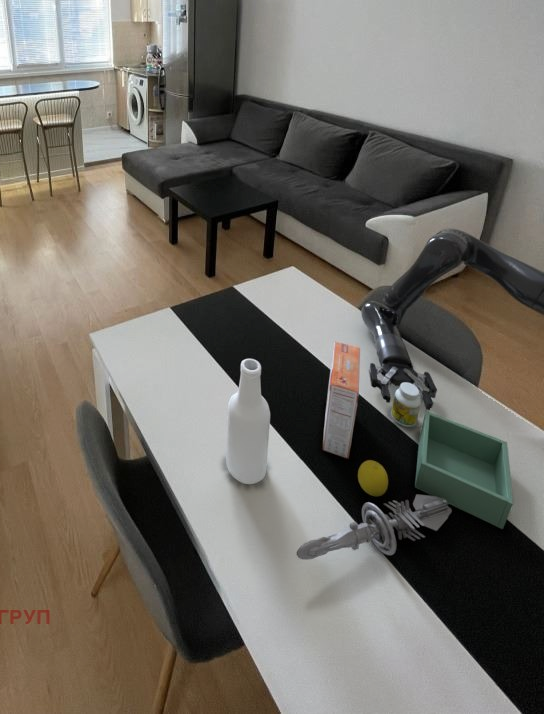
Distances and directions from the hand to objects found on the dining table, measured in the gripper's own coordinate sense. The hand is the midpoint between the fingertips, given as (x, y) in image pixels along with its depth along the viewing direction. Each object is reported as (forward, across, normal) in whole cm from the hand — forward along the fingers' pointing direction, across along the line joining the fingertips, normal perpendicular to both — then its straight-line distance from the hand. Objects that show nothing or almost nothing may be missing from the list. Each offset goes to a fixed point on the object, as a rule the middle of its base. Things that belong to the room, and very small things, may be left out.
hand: (408, 403), depth 102 cm
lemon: (+20, -11, +6) cm, 23 cm away
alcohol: (+21, -36, +6) cm, 42 cm away
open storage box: (+12, +7, +6) cm, 15 cm away
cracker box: (+6, -16, +6) cm, 18 cm away
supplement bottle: (-1, 0, +6) cm, 6 cm away
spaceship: (+29, -12, +6) cm, 32 cm away
